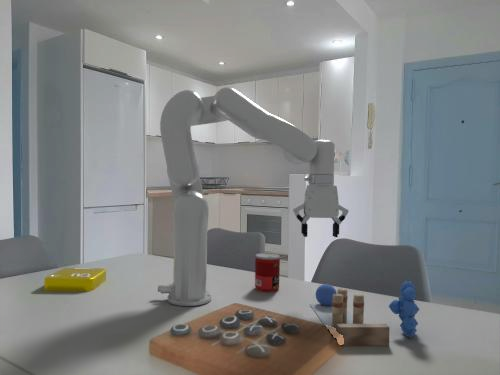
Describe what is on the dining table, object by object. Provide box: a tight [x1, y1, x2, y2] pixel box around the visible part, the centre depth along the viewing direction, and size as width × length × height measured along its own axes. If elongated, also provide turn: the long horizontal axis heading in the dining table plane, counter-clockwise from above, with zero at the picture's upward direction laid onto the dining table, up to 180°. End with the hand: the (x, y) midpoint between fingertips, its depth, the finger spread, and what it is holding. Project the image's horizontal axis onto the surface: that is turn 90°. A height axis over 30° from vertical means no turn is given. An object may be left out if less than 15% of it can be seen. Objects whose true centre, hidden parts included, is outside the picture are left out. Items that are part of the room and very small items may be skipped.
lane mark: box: [309, 303, 353, 327], centre depth 97 cm, size 9×24×1 cm, turn 4°
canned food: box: [254, 252, 281, 293], centre depth 125 cm, size 8×8×11 cm
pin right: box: [352, 293, 365, 324], centre depth 90 cm, size 2×2×8 cm
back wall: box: [336, 323, 390, 347], centre depth 83 cm, size 11×2×4 cm, turn 94°
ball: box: [315, 283, 337, 306], centre depth 109 cm, size 6×6×6 cm
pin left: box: [332, 294, 343, 328], centre depth 89 cm, size 2×2×8 cm
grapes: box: [388, 280, 420, 338], centre depth 89 cm, size 12×7×12 cm, turn 163°
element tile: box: [43, 267, 107, 293], centre depth 124 cm, size 15×15×5 cm
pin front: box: [336, 288, 348, 324], centre depth 94 cm, size 2×2×8 cm
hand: (320, 236), depth 118 cm, fingers open, 9 cm apart
